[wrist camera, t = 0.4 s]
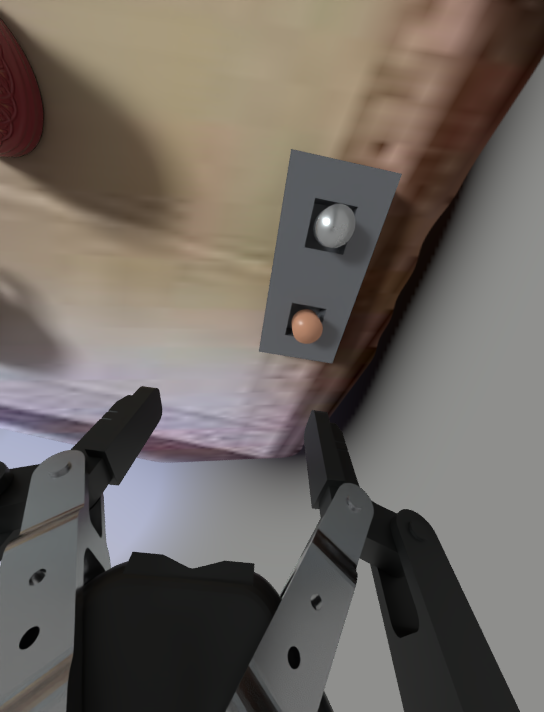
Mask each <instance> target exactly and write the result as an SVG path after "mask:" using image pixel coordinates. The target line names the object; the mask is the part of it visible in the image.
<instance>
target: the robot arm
mask: <svg viewBox="0 0 544 712" xmlns="http://www.w3.org/2000/svg"><path fill="white" fill-rule="evenodd" d="M161 416H162V404H161V398H160V392H159V389H158V388H151V387H144V386H142V387H140V388H139V389H138V390H137V391H136V392H135V393H134V394H133V395H127V396H126V397H124V398H122V399H120V400H119V401H117V402H116V403H115V404H114V405H113V406H112V407H111V408H110V409H109V411H108V412H106V413H105V415H104V416H103V417H102V419H100V420H99V421H98V422H97V423H96V424H95V425H94V426H93V427H92V428H91V429H90V430H89V431H88V432H87V433H86V434H85V435H84V436H83V437H82V439H81V440H80V441H79V442H78V443H77V444H76V445H75V446H74V447H73V448H72V449H71V450H68V451H63V452H60V453H57V454H55V455H53V456H51V457H49V458H48V459H46V460H45V461H43V462H42V463H41V464H38V465H32V466H26V467H19V468H13V469H8V467H7V466H6V465H5V464H4V463H3V462H0V561H1V560H2V561H1V566H0V712H333V709H332V707H331V705H330V703H329V701H328V698H327V696H326V694H325V692H324V688H325V685H326V682H327V679H328V675H329V672H330V669H331V665H332V662H333V659H334V656H335V652H336V649H337V646H338V643H339V639H340V636H341V632H342V629H343V626H344V623H345V620H346V616H347V613H348V610H349V606H350V603H351V600H352V597H353V594H354V590H355V587H356V583H357V577H358V576H357V572H356V568H357V564H358V560H359V558H360V559H362V560H364V561H366V562H368V563H370V565H371V569H372V573H373V578H374V582H375V587H376V591H377V596H378V600H379V604H380V609H381V613H382V617H383V622H384V626H385V630H386V634H387V639H388V643H389V648H390V652H391V656H392V661H393V665H394V669H395V673H396V678H397V682H398V687H399V691H400V695H401V699H402V704H403V708H404V712H520V711H519V709H518V706H517V704H516V702H515V700H514V698H513V696H512V694H511V692H510V690H509V687H508V685H507V683H506V681H505V679H504V677H503V675H502V673H501V671H500V669H499V666H498V664H497V662H496V660H495V658H494V656H493V654H492V652H491V649H490V647H489V645H488V643H487V641H486V639H485V637H484V635H483V633H482V630H481V628H480V626H479V624H478V622H477V620H476V618H475V616H474V614H473V611H472V609H471V607H470V605H469V603H468V601H467V599H466V597H465V594H464V592H463V591H462V588H461V586H460V584H459V582H458V580H457V577H456V575H455V574H454V571H453V569H452V567H451V565H450V563H449V561H448V559H447V556H446V554H445V552H444V550H443V548H442V546H441V544H440V541H439V540H438V537H437V535H436V534H435V531H434V530H433V528H432V527H431V525H430V524H429V523H428V522H427V521H426V520H425V519H424V518H423V517H422V516H421V515H419V514H418V513H416V512H414V511H412V510H408V509H403V510H401V511H399V513H395V512H393V511H390V510H388V509H386V508H384V507H382V506H380V505H378V504H376V503H374V502H373V501H371V499H370V498H369V496H368V495H367V493H365V491H364V490H363V489H362V488H360V486H359V484H358V481H357V478H356V475H355V472H354V469H353V465H352V462H351V459H350V456H349V453H348V451H347V450H348V449H347V446H346V444H345V440H344V436H343V433H342V431H341V430H340V429H339V427H338V426H337V425H336V424H335V423H330V421H329V417H328V414H327V412H322V411H315V410H312V411H311V414H310V417H309V420H308V422H307V425H306V428H305V432H304V444H305V452H306V461H307V470H308V478H309V486H310V495H311V504H312V508H315V509H320V515H321V519H320V520H319V522H318V524H317V526H316V528H315V530H314V532H313V534H312V536H311V538H310V539H309V541H308V543H307V545H306V547H305V549H304V551H303V553H302V555H301V557H300V558H299V560H298V562H297V564H296V566H295V568H294V570H293V571H292V573H291V575H290V577H289V579H288V580H287V582H286V584H285V586H284V588H283V590H282V592H281V594H280V596H279V594H278V593H277V592H276V590H275V589H274V588H273V587H272V585H271V584H270V583H269V582H268V581H267V580H266V579H264V578H263V577H262V576H260V575H259V574H257V573H255V572H254V564H252V563H243V562H232V561H222V562H218V563H214V564H210V565H206V566H202V567H198V568H193V569H192V568H188V567H186V566H184V565H182V564H180V563H178V562H176V561H174V560H173V559H171V558H169V557H167V556H165V555H160V554H150V553H139V552H132V555H131V557H130V559H129V561H127V562H124V563H122V564H119V565H116V566H114V567H112V568H111V565H110V557H109V552H108V548H107V544H106V534H105V514H104V496H103V492H104V490H105V489H106V487H107V485H108V484H110V485H119V484H120V483H121V481H122V480H123V478H124V476H125V475H126V473H127V471H128V470H129V468H130V467H131V465H132V464H133V462H134V461H135V459H136V457H137V456H138V454H139V453H140V451H141V450H142V448H143V446H144V445H145V443H146V442H147V440H148V439H149V437H150V435H151V434H152V432H153V431H154V429H155V428H156V426H157V424H158V423H159V421H160V419H161Z"/></svg>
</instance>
